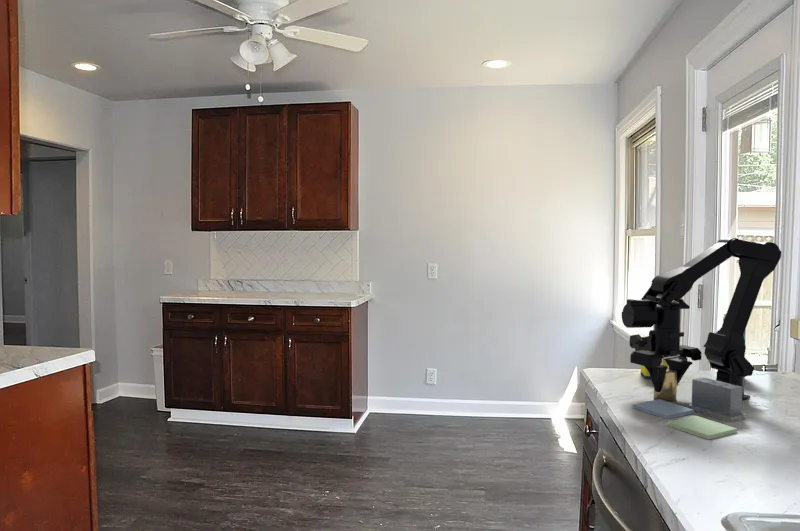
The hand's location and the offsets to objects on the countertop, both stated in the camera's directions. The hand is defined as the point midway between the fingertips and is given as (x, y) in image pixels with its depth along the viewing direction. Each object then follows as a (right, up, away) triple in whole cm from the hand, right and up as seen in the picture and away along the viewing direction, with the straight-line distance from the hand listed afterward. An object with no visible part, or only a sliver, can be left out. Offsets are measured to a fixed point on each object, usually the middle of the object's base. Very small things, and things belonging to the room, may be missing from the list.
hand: (665, 390), depth 137 cm
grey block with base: (+6, -3, -12) cm, 13 cm away
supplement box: (+7, -1, +22) cm, 23 cm away
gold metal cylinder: (0, -2, 0) cm, 2 cm away
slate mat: (-5, -3, -9) cm, 11 cm away
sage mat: (-3, -3, -21) cm, 22 cm away
